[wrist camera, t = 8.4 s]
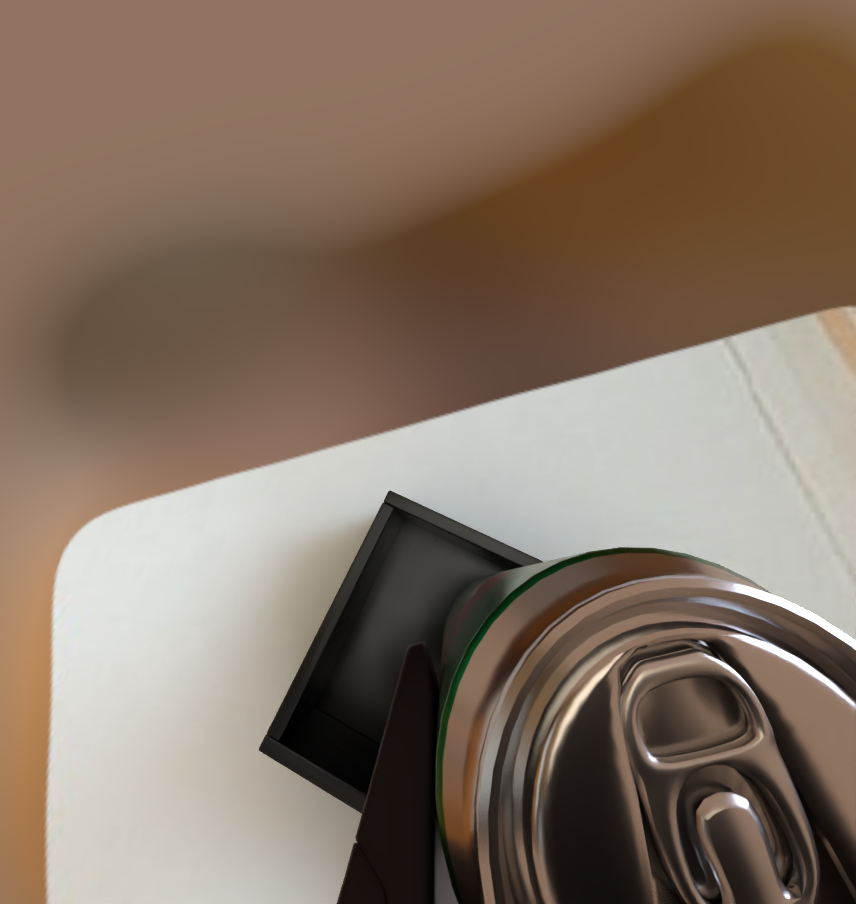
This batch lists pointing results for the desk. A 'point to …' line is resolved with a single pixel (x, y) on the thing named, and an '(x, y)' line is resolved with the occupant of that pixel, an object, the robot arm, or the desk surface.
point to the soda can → (644, 738)
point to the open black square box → (377, 642)
